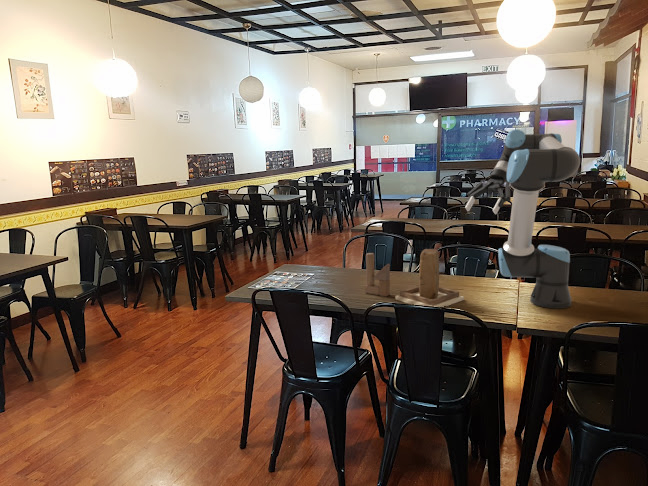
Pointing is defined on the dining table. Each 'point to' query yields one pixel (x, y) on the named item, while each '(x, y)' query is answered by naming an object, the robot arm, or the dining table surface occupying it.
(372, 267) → the wooden block
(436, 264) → the block
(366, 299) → the dining table surface
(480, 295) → the dining table surface
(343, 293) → the dining table surface
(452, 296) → the pocket board
